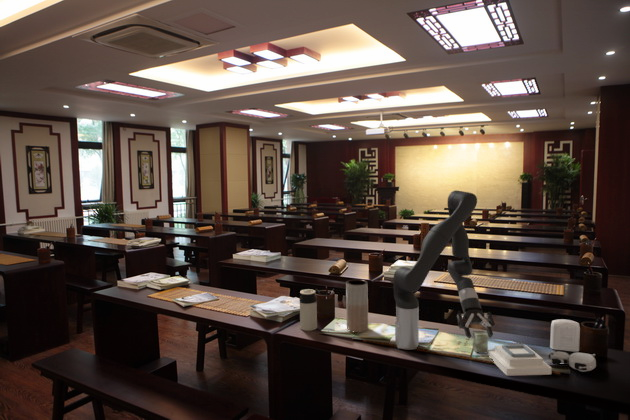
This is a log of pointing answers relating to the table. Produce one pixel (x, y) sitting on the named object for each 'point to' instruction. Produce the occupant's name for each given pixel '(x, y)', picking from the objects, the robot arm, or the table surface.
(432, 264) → the robot arm
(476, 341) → the block
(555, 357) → the robot toy
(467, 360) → the table surface
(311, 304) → the travel mug
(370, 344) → the table surface
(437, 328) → the table surface
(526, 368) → the plinth
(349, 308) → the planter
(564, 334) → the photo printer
